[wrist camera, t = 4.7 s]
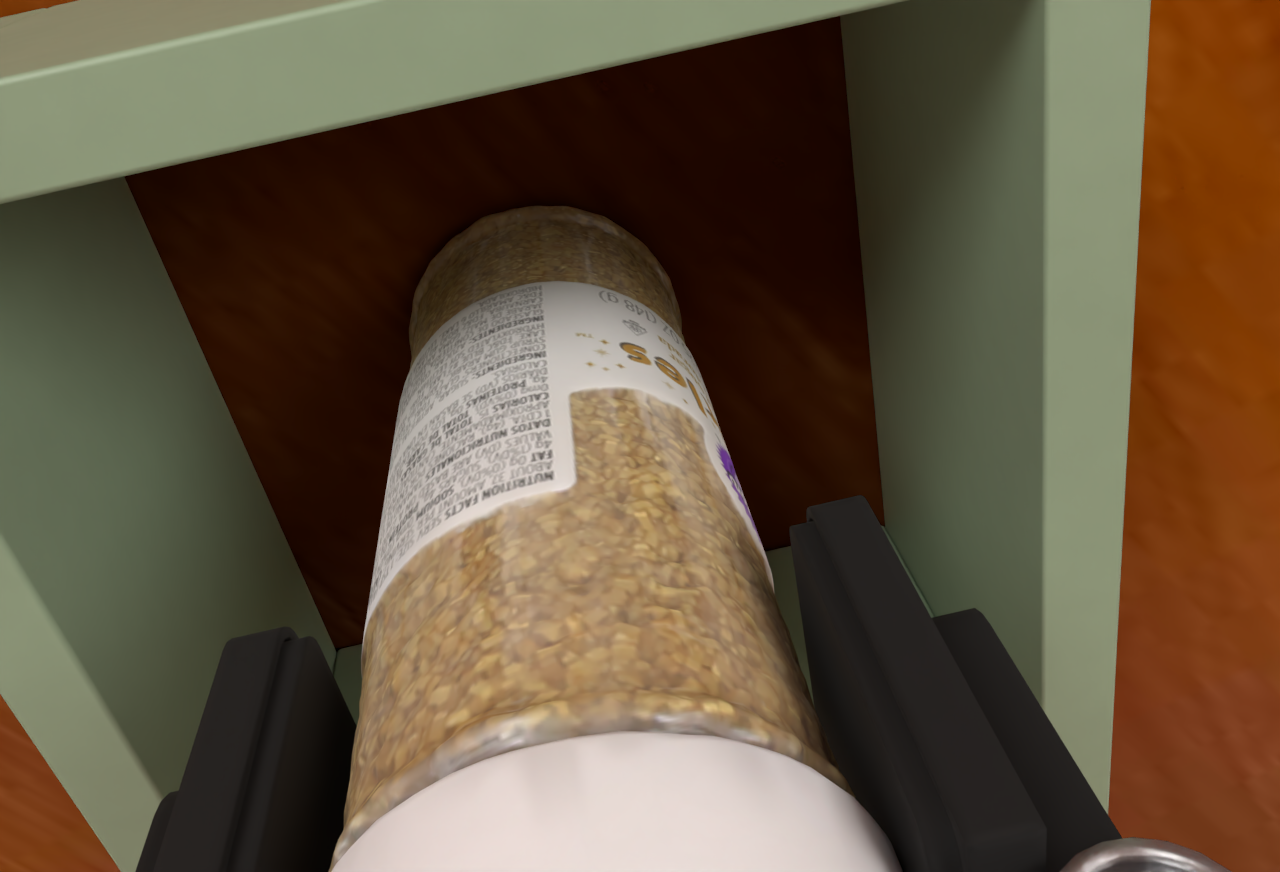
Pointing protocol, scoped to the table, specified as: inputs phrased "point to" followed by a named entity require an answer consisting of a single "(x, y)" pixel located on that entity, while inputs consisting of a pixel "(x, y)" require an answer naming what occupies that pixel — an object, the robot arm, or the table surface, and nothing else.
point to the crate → (486, 64)
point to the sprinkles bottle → (577, 593)
